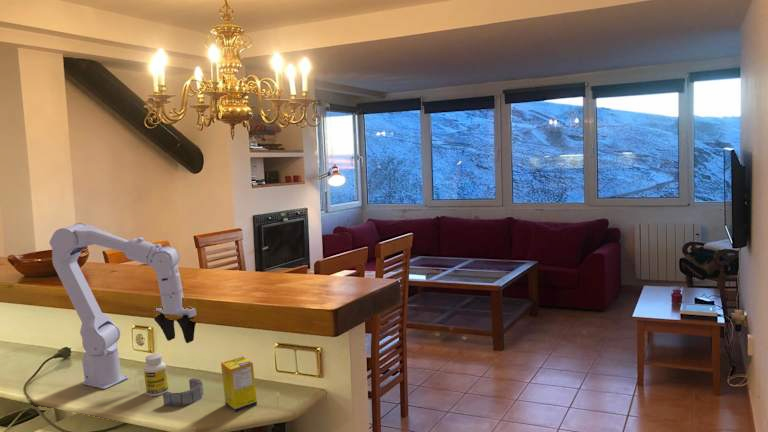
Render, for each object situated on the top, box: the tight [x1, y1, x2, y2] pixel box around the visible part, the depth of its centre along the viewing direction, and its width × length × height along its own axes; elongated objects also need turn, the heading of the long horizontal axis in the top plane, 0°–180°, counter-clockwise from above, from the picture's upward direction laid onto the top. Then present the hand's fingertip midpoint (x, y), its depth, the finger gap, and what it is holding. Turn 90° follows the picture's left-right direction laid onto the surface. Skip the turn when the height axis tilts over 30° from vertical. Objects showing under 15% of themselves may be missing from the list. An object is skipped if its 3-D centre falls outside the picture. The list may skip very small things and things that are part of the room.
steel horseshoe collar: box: [162, 377, 204, 408], centre depth 158 cm, size 6×10×3 cm, turn 151°
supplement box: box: [220, 356, 258, 413], centre depth 152 cm, size 6×6×11 cm
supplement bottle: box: [143, 353, 169, 397], centre depth 163 cm, size 5×5×10 cm
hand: (180, 340), depth 170 cm, fingers open, 7 cm apart
